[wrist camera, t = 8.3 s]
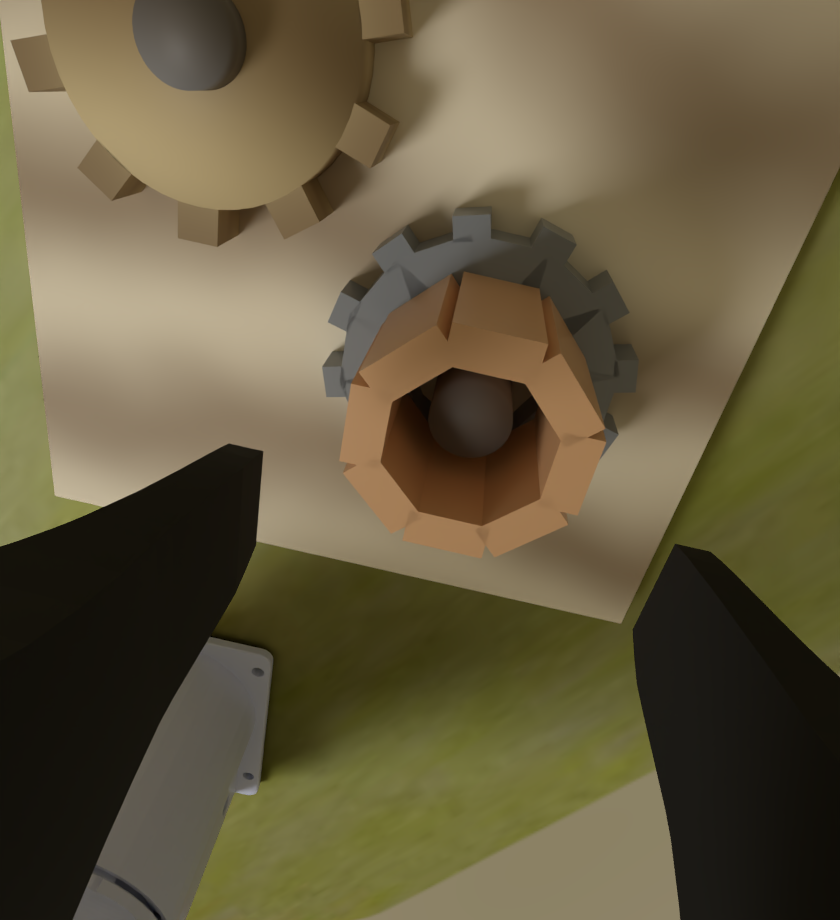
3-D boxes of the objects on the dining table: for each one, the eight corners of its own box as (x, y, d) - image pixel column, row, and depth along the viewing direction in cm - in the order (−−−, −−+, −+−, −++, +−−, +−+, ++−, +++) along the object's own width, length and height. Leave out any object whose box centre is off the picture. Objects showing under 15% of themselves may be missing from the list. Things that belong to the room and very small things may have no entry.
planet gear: (574, 512, 21) (594, 632, 16) (318, 454, 21) (265, 557, 16) (677, 248, 16) (741, 309, 12) (355, 175, 16) (298, 208, 12)
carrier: (616, 603, 23) (638, 706, 20) (71, 480, 24) (-15, 558, 20) (951, -116, 13) (1134, -200, 9) (-8, -330, 13) (-217, -498, 10)
